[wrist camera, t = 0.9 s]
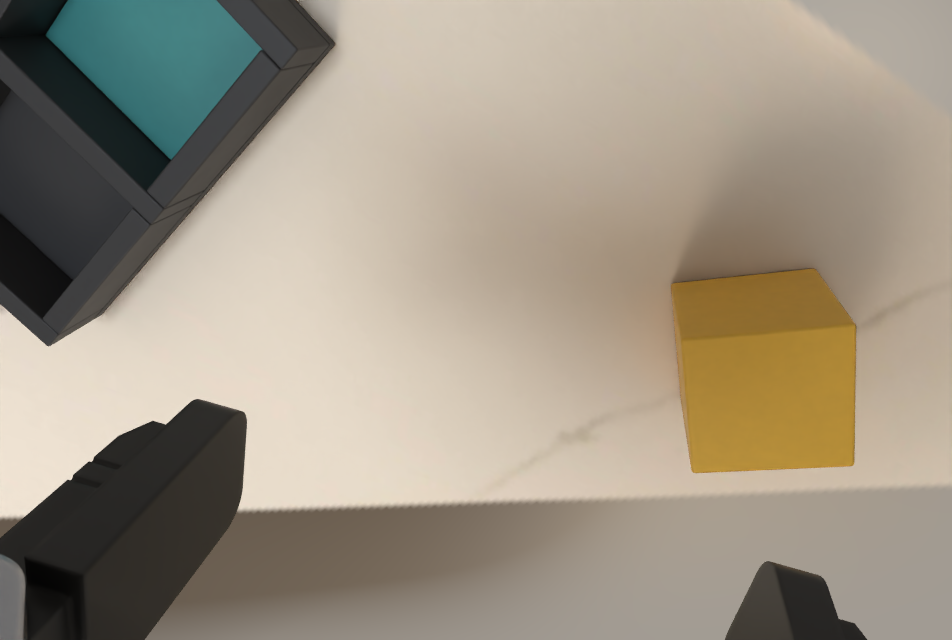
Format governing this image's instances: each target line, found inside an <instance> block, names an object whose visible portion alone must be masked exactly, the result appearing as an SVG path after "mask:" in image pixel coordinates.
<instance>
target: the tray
mask: <svg viewBox="0 0 952 640" xmlns="http://www.w3.org/2000/svg"><path fill="white" fill-rule="evenodd" d="M334 45H335V43H334V42H333V41H332V40H331V39H330V38H329V36H328V35H327V34H326V33H325V32H324V31H323V30H322V29H321V28H320V27H319V26H318V24H317V23H316V22H315V21H314V20H313V19H312V18H311V17H310V16H309V15H308V14H307V12H306V11H305V10H304V9H303V8H302V7H301V6H300V5H299V4H298V3H297V2H296V1H295V0H0V304H1V305H2V306H3V307H4V308H6V309H7V310H8V311H9V312H10V313H11V314H12V315H13V316H14V317H16V318H17V319H18V320H19V321H20V322H21V323H22V324H23V325H25V326H26V327H27V328H28V329H29V330H30V331H31V332H32V333H33V334H35V335H36V336H37V337H38V338H39V339H40V340H41V341H42V342H43V343H45V344H46V345H47V346H51V345H52V344H54V343H56V342H57V341H59V340H61V339H62V338H64V337H65V336H67V335H69V334H70V333H72V332H74V331H75V330H77V329H79V328H80V327H82V326H84V325H85V324H87V323H89V322H90V321H92V320H93V319H95V318H97V317H99V316H100V315H102V313H103V312H104V311H105V310H106V309H107V308H108V306H109V305H110V304H111V303H112V302H113V301H114V300H115V298H116V297H117V296H118V295H119V294H120V293H121V291H122V290H123V289H124V288H125V287H126V286H127V284H128V283H129V282H130V281H131V280H132V279H133V278H134V276H135V275H136V274H137V273H138V272H139V271H140V269H141V268H142V267H143V266H144V265H145V264H146V263H147V261H148V260H149V259H150V258H151V257H152V256H153V254H154V253H155V252H156V251H157V250H158V249H159V247H160V246H161V245H162V244H163V243H164V242H165V241H166V239H167V238H168V237H169V236H170V235H171V234H172V232H173V231H174V230H175V229H176V228H177V227H178V226H179V224H180V223H181V222H182V221H183V220H184V219H185V217H186V216H187V215H188V214H189V213H190V212H191V210H192V209H193V208H194V207H195V206H196V205H197V204H198V202H199V201H200V200H201V199H202V198H203V197H204V195H205V194H206V193H207V192H208V191H209V190H210V189H211V187H212V186H213V185H214V184H215V183H216V182H217V180H218V179H219V178H220V177H221V176H222V175H223V173H224V172H225V171H226V170H227V169H228V168H229V167H230V165H231V164H232V163H233V162H234V161H235V160H236V158H237V157H238V156H239V155H240V154H241V153H242V152H243V150H244V149H245V148H246V147H247V146H248V145H249V143H250V142H251V141H252V140H253V139H254V138H255V136H256V135H257V134H258V133H259V132H260V131H261V130H262V128H263V127H264V126H265V125H266V124H267V123H268V121H269V120H270V119H271V118H272V117H273V116H274V114H275V113H276V112H277V111H278V110H279V109H280V108H281V106H282V105H283V104H284V103H285V102H286V101H287V99H288V98H289V97H290V96H291V95H292V94H293V93H294V91H295V90H296V89H297V88H298V87H299V86H300V84H301V83H302V82H303V81H304V80H305V79H306V77H307V76H308V75H309V74H310V73H311V72H312V71H313V69H314V68H315V67H316V66H317V65H318V64H319V62H320V61H321V60H322V59H323V58H324V57H325V56H326V54H327V53H328V52H329V51H330V50H331V49H332V47H333V46H334Z"/></svg>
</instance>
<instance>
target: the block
mask: <svg viewBox="0 0 952 640" xmlns="http://www.w3.org/2000/svg"><path fill="white" fill-rule="evenodd" d="M671 293H672V304H673V316H674V327H675V338H676V350H677V361H678V373H679V384H680V396H681V404H682V410H683V417H684V424H685V430H686V437H687V444H688V451H689V457H690V464H691V470H692V472H693V473H708V472H731V471H753V470H776V469H798V468H821V467H844V466H853V465H854V449H855V377H856V325H855V323H854V322H853V320H852V319H851V317H850V316H849V315H848V313H847V312H846V310H845V309H844V308H843V306H842V305H841V304H840V302H839V301H838V299H837V298H836V297H835V295H834V294H833V292H832V291H831V290H830V288H829V287H828V285H827V284H826V283H825V281H824V280H823V279H822V277H821V276H820V274H819V273H818V272H817V270H816V269H804V270H795V271H785V272H776V273H766V274H757V275H747V276H738V277H728V278H718V279H709V280H699V281H690V282H680V283H673V284H672V285H671Z"/></svg>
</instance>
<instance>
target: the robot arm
mask: <svg viewBox="0 0 952 640" xmlns="http://www.w3.org/2000/svg"><path fill="white" fill-rule="evenodd" d="M246 429H247V419H246V415H245V413H244V412H243V411H239V410H236V409H232V408H228V407H225V406H221V405H218V404H214V403H211V402H207V401H204V400H200V399H196V400H193V401H191V402H190V403H189V404H188V405H187V406H186V407H185V408H184V409H182V410H181V411H180V412H179V413H178V414H177V415H176V416H175V417H174V418H173V419H172V420H171V421H169V422H168V423H167V424H166V425H165V424H162V423H158V422H155V421H151V422H149V423H147V424H145V425H142V426H140V427H138V428H135V429H133V430H131V431H129V432H126V433H124V434H122V435H119V436H118V437H117V438H116V439H114V440H113V441H112V442H111V443H110V444H109V445H108V446H106V447H105V448H104V449H103V450H102V451H101V452H99V453H98V454H97V455H96V456H95V457H94V459H93V461H92V462H88V463H87V464H86V465H84V466H83V467H82V468H81V469H80V470H79V471H77V472H76V473H75V474H74V475H73V478H72V480H71V481H70V480H67V481H66V482H65V483H63V484H62V485H61V486H60V487H59V488H58V489H57V490H55V491H54V492H53V493H52V494H51V495H50V496H48V497H47V498H46V499H45V500H44V501H43V502H41V503H40V504H39V505H38V506H37V507H36V508H34V509H33V510H32V511H31V512H30V513H29V514H28V515H26V516H25V517H24V518H23V519H22V520H21V521H19V522H18V523H17V524H16V525H15V526H14V527H12V528H11V529H10V530H9V531H8V532H7V533H6V534H4V535H3V536H2V537H1V538H0V640H145V638H146V637H147V636H148V634H149V633H150V632H151V630H152V629H153V628H154V626H155V625H156V624H157V622H158V621H159V620H160V618H161V617H162V616H163V614H164V613H165V612H166V610H167V609H168V608H169V606H170V605H171V604H172V602H173V601H174V599H175V598H176V597H177V596H178V594H179V593H180V592H181V590H182V589H183V587H184V586H185V585H186V584H187V582H188V581H189V580H190V578H191V577H192V576H193V574H194V573H195V572H196V570H197V569H198V568H199V566H200V565H201V564H202V562H203V561H204V560H205V558H206V557H207V556H208V554H209V553H210V552H211V550H212V549H213V548H214V546H215V545H216V544H217V542H218V541H219V540H220V538H221V537H222V535H223V534H224V533H225V532H226V530H227V529H228V527H229V526H230V524H231V522H232V520H233V518H234V516H235V514H236V512H237V509H238V506H239V503H240V499H241V495H242V488H243V474H244V459H245V444H246ZM725 640H867V639H866V638H865V636H864V635H863V634H862V632H861V631H860V630H859V628H858V627H857V626H856V625H855V624H854V623H851V622H847V621H844V620H840V619H838V616H837V613H836V610H835V607H834V604H833V601H832V598H831V596H830V592H829V589H828V586H827V584H826V582H825V580H824V579H823V578H822V577H821V576H819V575H816V574H812V573H809V572H805V571H801V570H798V569H795V568H791V567H787V566H783V565H780V564H776V563H773V562H769V561H767V562H765V563H763V564H762V566H761V567H760V568H759V570H758V572H757V573H756V575H755V578H754V580H753V582H752V584H751V586H750V588H749V590H748V592H747V594H746V596H745V598H744V600H743V602H742V604H741V606H740V608H739V610H738V612H737V614H736V616H735V618H734V620H733V622H732V624H731V626H730V628H729V631H728V633H727V635H726V638H725Z"/></svg>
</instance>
